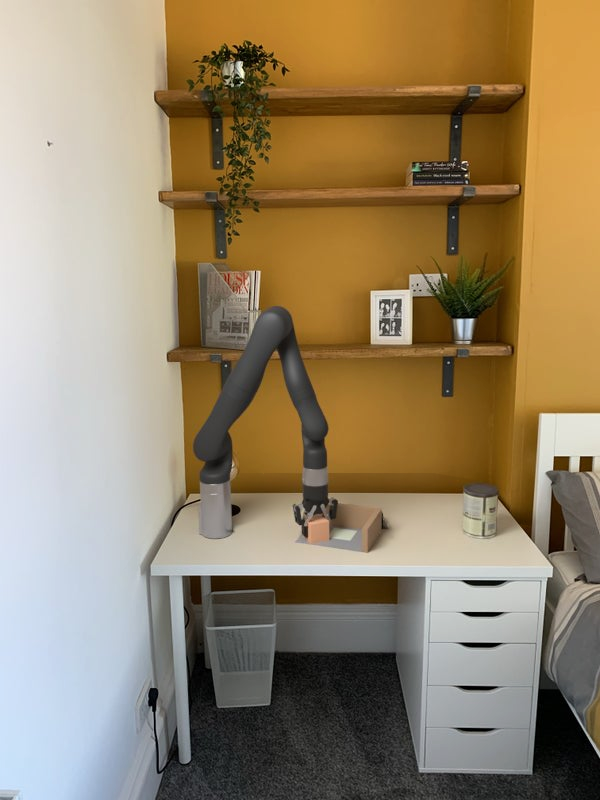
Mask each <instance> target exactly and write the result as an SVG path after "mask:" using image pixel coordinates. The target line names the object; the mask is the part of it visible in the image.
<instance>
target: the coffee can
mask: <svg viewBox="0 0 600 800" xmlns="http://www.w3.org/2000/svg"><path fill="white" fill-rule="evenodd" d="M499 491H500V490H499V488H498V487H496V486H495V485H492V484H490V483H482V482H475V483H474V482H472V483H467V484H465V485H464V486H463V497H462V498H463V499H462V500H463V501H462V502H463V503H462V504H463V505H462V530H461V531H462V533H463V534H464V535H465V536H467V537H470V538H473V539H481V540H482V539H483V540H484V539H485V540H486V539H490V538H494V537H496V536H497V526H498V525H497V523H498V503H499Z"/></svg>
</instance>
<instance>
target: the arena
mask: <svg viewBox="0 0 600 800" xmlns="http://www.w3.org/2000/svg"><path fill="white" fill-rule="evenodd" d="M329 509H330V505H329V504H328V505H327V507H326V510H327V512H328V514H329ZM382 513H383V508H381V507H373V506H367V505H366V506H364V505H355V504H348V503H341V502H338V505H337V513H336V518H335V519H332V520H331V521H330V531H329V541H324V542H319V543H314V544H310V543H309V542H308V541H307V540H306V539H305V538H304V537H302V534H301V535H299V537H297V539H296V540H295V541H294V543H297V544H303V545H304V544H305V545H311V546H318V547H324V548H331V549H339V550H345V551H350V552H358V553H366V554H368V553H369V551H370V550H371V548H372V546H373V544H374V543H375V541H376V540H377V538H378V537H379V535H380V534H381V533H382ZM316 515H322V514H316ZM313 516H314V515H313Z"/></svg>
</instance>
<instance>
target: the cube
mask: <svg viewBox="0 0 600 800" xmlns="http://www.w3.org/2000/svg"><path fill="white" fill-rule="evenodd" d="M307 526H308V538H305V537H304V536H303V535H302V534H301V535H302V537H304V538H305V539H306V540H307V541H308V542H309V543H310V544H314V543H319V542H324V541H329V521H328V520H327V519H325V518H324V517H323V516H322V515H314V516H312V518H311V520H310V521H309V523H308V525H307ZM310 544H309V545H310Z"/></svg>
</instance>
